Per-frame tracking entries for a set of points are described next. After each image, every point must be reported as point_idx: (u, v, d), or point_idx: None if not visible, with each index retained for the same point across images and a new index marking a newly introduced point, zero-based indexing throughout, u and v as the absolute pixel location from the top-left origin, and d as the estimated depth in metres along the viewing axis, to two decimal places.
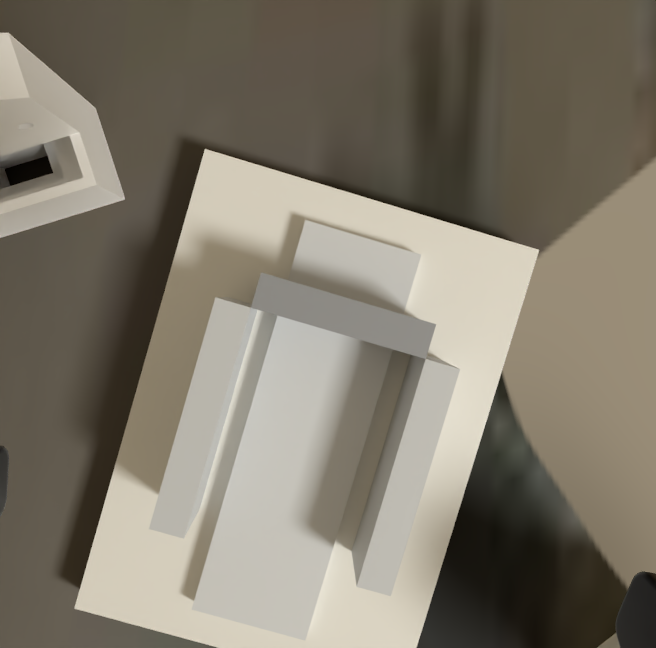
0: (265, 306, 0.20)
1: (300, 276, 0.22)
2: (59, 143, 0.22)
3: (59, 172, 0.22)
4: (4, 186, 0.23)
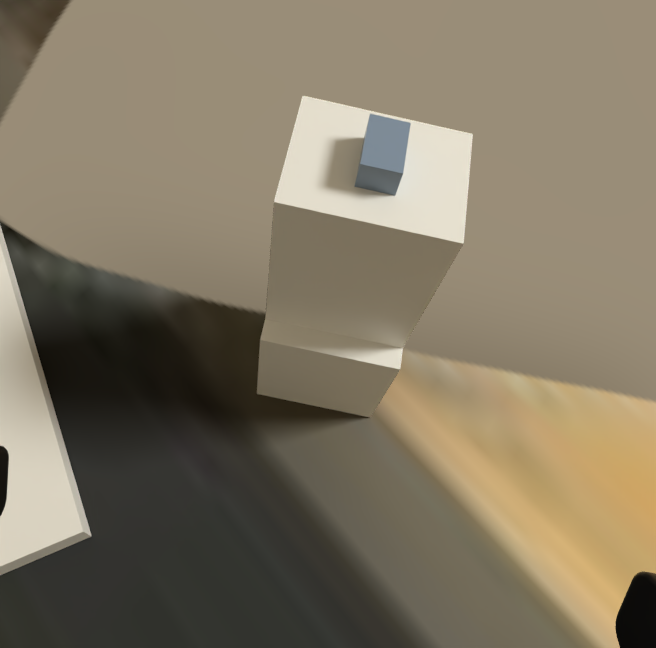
0: None
1: None
2: None
3: None
4: None
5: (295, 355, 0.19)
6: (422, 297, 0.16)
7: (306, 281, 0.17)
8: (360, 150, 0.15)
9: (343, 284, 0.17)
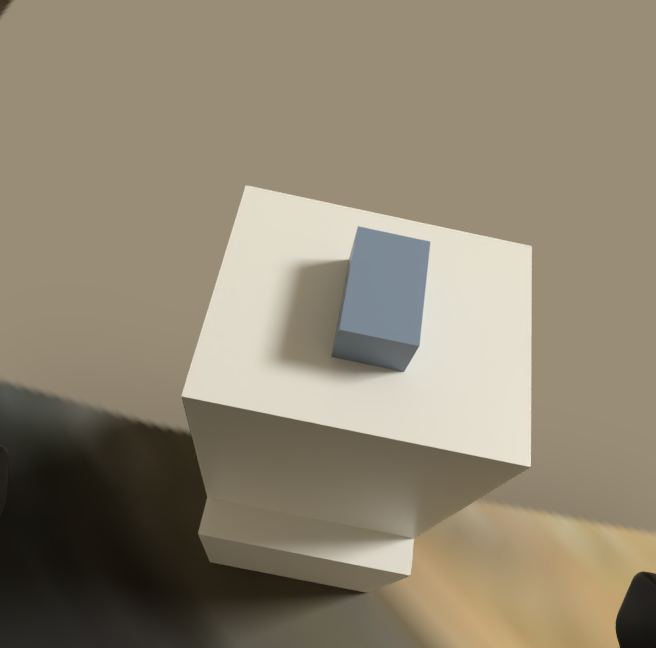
0: None
1: None
2: None
3: None
4: None
5: (253, 549, 0.13)
6: (448, 505, 0.10)
7: (259, 475, 0.10)
8: (342, 284, 0.09)
9: (319, 483, 0.10)
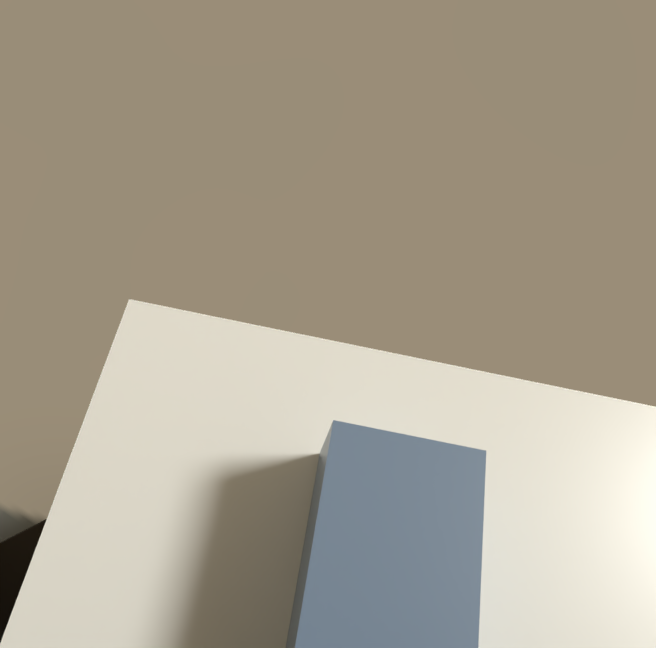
0: None
1: None
2: None
3: None
4: None
5: None
6: None
7: None
8: (305, 513, 0.04)
9: None
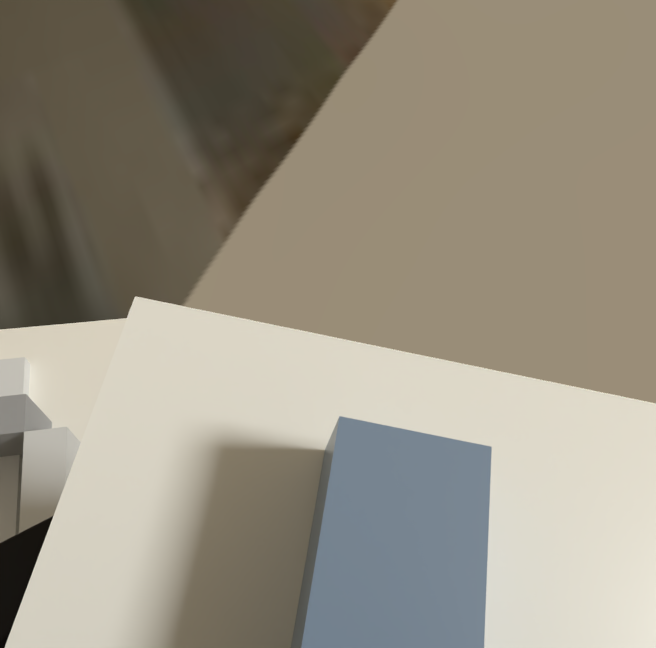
0: None
1: None
2: None
3: None
4: None
5: None
6: None
7: None
8: (311, 509, 0.04)
9: None
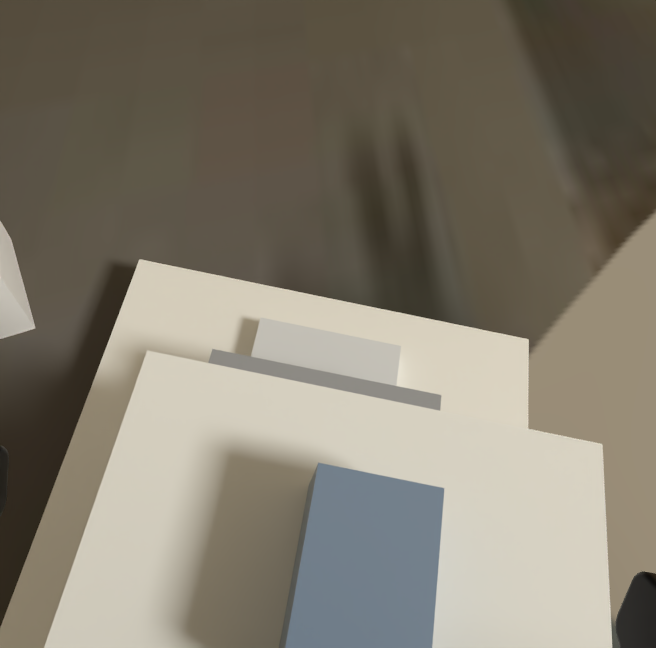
0: None
1: None
2: None
3: None
4: None
5: None
6: None
7: None
8: (296, 537, 0.05)
9: None
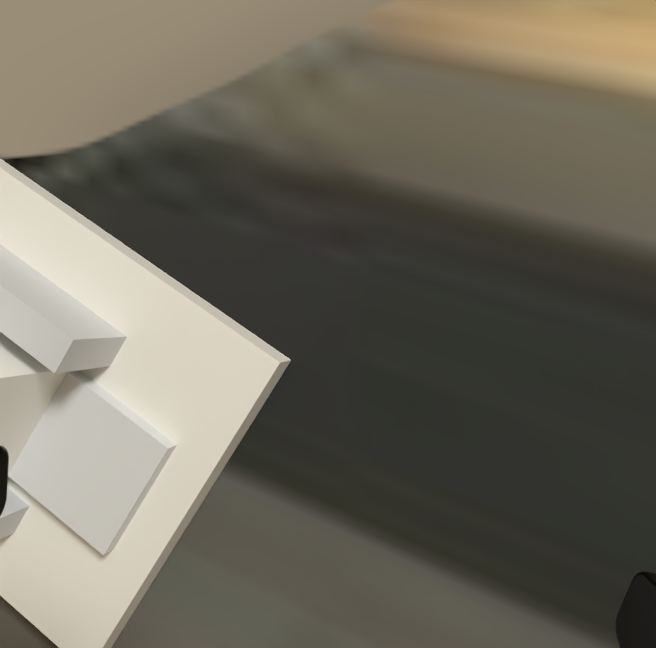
0: None
1: None
2: None
3: None
4: None
5: None
6: None
7: None
8: None
9: None
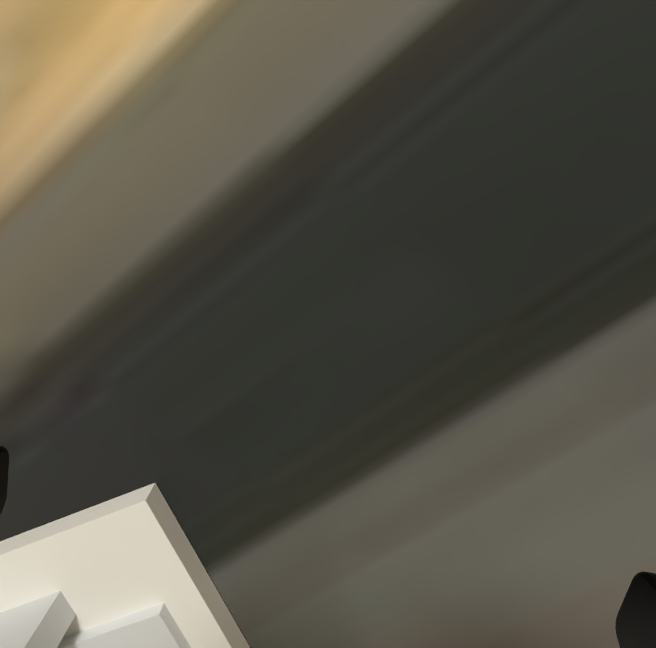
0: None
1: None
2: None
3: None
4: None
5: None
6: None
7: None
8: None
9: None
